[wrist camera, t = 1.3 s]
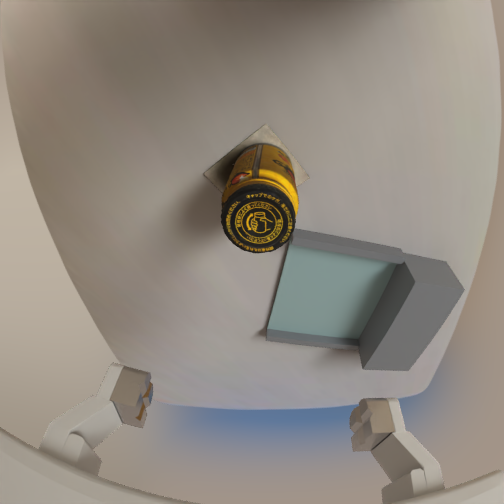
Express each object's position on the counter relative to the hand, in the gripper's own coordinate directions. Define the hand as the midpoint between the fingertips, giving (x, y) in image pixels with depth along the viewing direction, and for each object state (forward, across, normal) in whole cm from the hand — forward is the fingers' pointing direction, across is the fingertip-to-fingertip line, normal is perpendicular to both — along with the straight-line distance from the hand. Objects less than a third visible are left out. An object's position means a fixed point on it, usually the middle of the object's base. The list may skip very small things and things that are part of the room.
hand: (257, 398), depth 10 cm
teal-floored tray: (+25, -14, +14) cm, 32 cm away
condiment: (+25, +1, 0) cm, 25 cm away
